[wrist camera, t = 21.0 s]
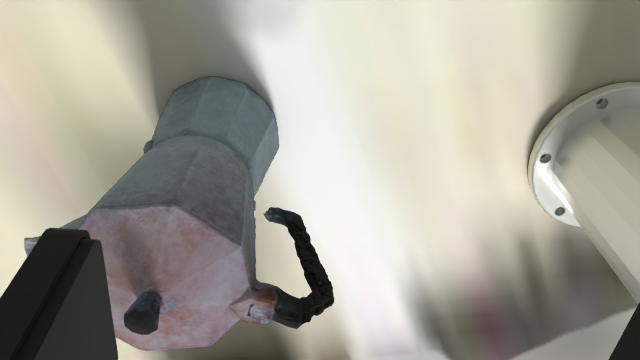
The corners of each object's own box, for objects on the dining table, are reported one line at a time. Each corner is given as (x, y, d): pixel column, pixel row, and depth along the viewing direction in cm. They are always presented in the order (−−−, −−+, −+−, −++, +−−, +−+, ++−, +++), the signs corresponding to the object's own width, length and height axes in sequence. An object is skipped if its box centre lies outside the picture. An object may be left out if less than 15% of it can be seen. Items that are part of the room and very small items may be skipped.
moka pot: (121, 47, 37) (-26, 216, 20) (339, 90, 40) (371, 275, 23) (117, 165, 42) (-5, 382, 25) (311, 198, 44) (320, 417, 27)
